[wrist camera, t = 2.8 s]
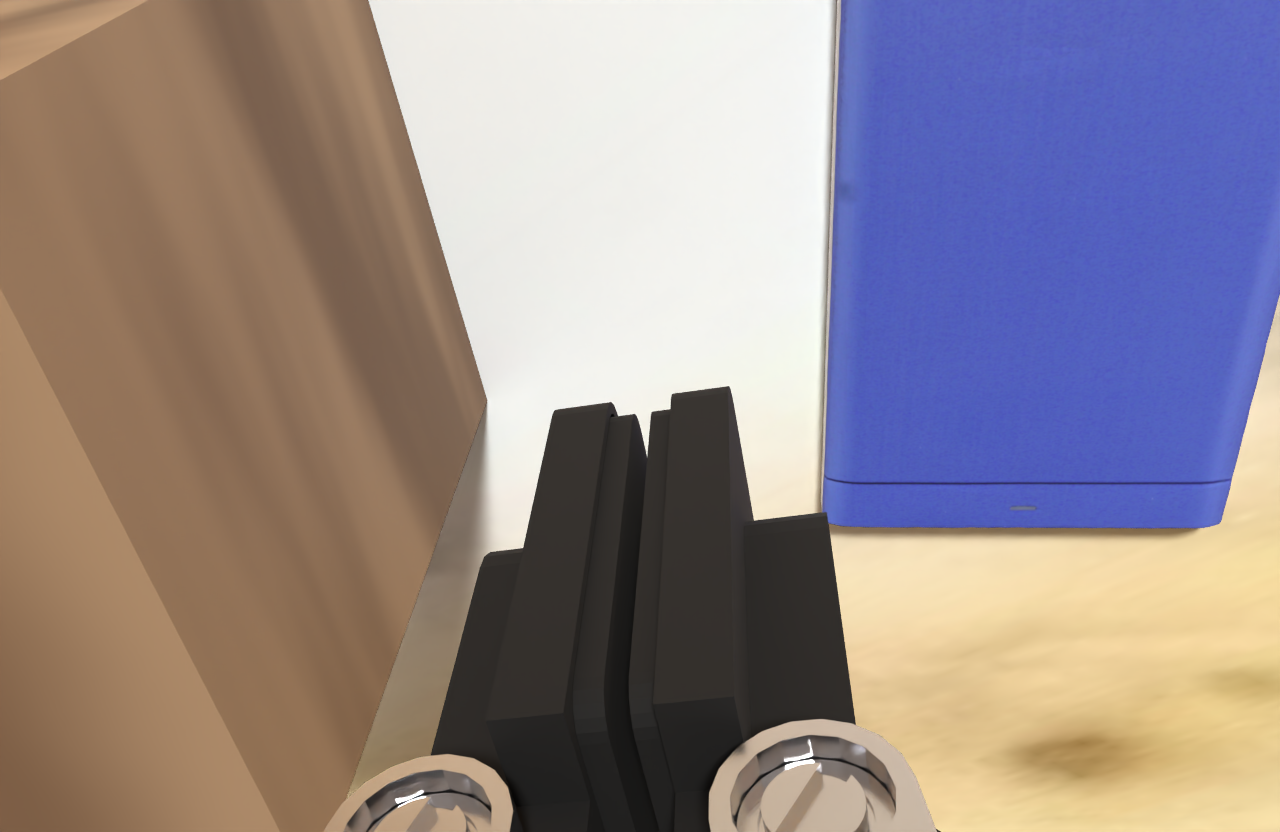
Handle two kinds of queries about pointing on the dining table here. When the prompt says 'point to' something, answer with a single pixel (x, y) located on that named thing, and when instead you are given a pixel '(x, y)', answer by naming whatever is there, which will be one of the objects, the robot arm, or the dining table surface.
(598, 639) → the robot arm
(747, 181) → the dining table surface
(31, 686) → the slab
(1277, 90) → the hard drive
